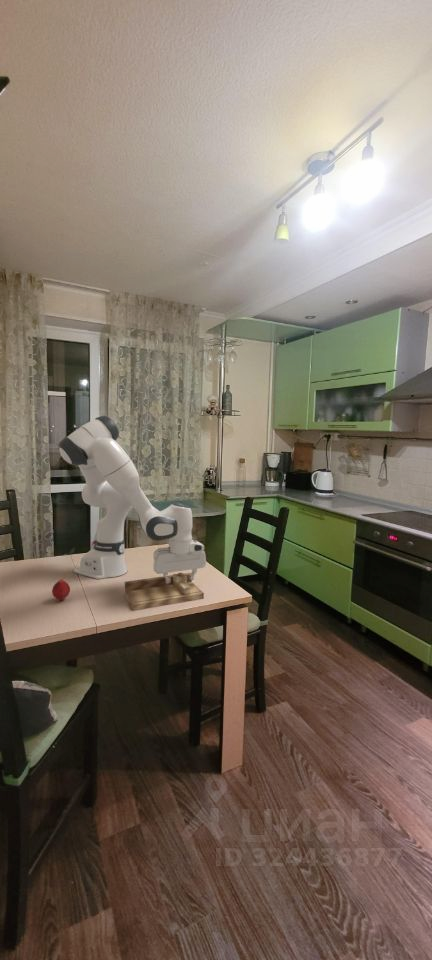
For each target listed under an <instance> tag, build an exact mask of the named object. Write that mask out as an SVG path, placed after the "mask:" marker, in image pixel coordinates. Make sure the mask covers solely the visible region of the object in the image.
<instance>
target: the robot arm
mask: <svg viewBox="0 0 432 960" xmlns="http://www.w3.org/2000/svg"><path fill="white" fill-rule="evenodd" d="M119 435H120V430H119V428H118V426H117V424H116V423H115V422H114V420H113V419H112V418H110V417H109V416H108V415H107V416H106V415H100V416H97V417H96V418H94V419H93V420H91V421H88V422H87V423H84V424H83V425H81V426H79V428H77V429H76V430H73V431H72V432H71V433H70V434H68V436H65V437H64V438H62V439H61V441H59V443H58V450H59V454H60V456H61V458H62V459H63V460H64V461H65V462H67V464H69V465H71V466H78V467H79V469H80V471H81V474H82V475H83V478H84V480H85V485H84V486H83V488H82V490H81V498H82V500H83V501H82V502H84V504H87V505H88V506H92V507H95V508H103V509H106V514H105V516H103V517H101V518H100V519H99V520H98V521H97V523H96V540H94V541H91V545H92V546H93V547H92V548H91V549H90V550H89V551H88V552H86V553H85V554H84V555H82V557H81V558H80V562H79V563H80V564H79V565H78V566H77V567H75V569H74V572H73V573H76V574H78V575H79V574H80V575H82V576H86V577H89V578H92V579H96V580H100V579H106V578H115V577H120V576H123V575H124V574H126V573H128V567H127V564H126V558H125V548H126V547H125V546H126V545H125V544H126V543H125V538H124V533H125V532H124V530H125V521H126V517H127V515H128V513H129V512H131V510H132V509H133V510H134V511H135V512H136V514H137V516H138V523H139V526H140V528H141V530H143V532H144V533H145V534H146V535H147V536H148V538H149V539H151V540H153V541H165V540H168V546H167V547H162V548H161V547H160V548H157V549H156V550H154V552H153V571H154V572H155V573H156V574H157V575H161V574H162V575H163V576H164V577H165V578H166V584H169V583H171V582H170V581H171V579H170V578H168V577H167V576H169V573H174V572H175V573H176V572H183V571H189V570H191V572H190V573H191V574H190V575H189V580H192V581H194V579H195V575H196V574H197V572H198V569H204V568H205V567H206V564H207V556H206V552H205V551H204V550H205V545H204V544H203V543H201V542H200V541H198V540H193V536H192V531H193V512H192V509H191V507H190V506H189V505H187V504H184V503H180V502H179V503H177V502H176V503H175V502H173V503H171V504H170V505H169V506H168V507H166V508H164V509H163V510H160V509H159V508H157V507H155V506H154V505H152V502H150V501H149V499H148V497H147V495H145V492H144V491H143V490H142V488H141V486H140V485H141V484H140V475H139V473H138V470H137V467H136V466H135V463H134V462H133V461H132V459H131V458H130V456H129V455H128V454H127V452H126V451H125V450H124V449H123V447H122V446H121V445H120V444H119V443H118V442H117V439H118V438H119V437H120V436H119Z"/></svg>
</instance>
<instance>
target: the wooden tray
mask: <svg viewBox="0 0 432 960" xmlns="http://www.w3.org/2000/svg"><path fill="white" fill-rule="evenodd" d="M183 573H184V572H183ZM191 573H192V572H186V573H184V574H185V575H186V576H187V584H188V585H189V586H190V587H191V594H187V595H184V594H183V593H182V592H181V591H180V590H179V589H176V588H175V587H174V586H173V574H172V575H166V576H167V577H168V578H170V579H171V581H170V582H171V583H169V584H166V578H165V577H164V575H163V576H157V577H150V578H142V579H137V580H135V579H134V580H129V581H124V596H125V599H126V600H127V601H128V603H129V605H130V606H131V609H132V610H133V611H139V610H145V609H150V608H155V607H161V606H166V605H171V604H172V605H173V604H178V603H183V602H190V601H191V602H192V601H196V600H201V599H202V600H203V599H204V597H205V593H204V591H203V590H201V589H200V588H199V587H198V586H197V585H196V584H195V583H194V582H193V580H189V575H190V574H191Z"/></svg>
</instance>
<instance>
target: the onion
mask: <svg viewBox="0 0 432 960" xmlns="http://www.w3.org/2000/svg"><path fill="white" fill-rule="evenodd" d="M70 592H71V587H70V585H69V583H67V582H66V581H65V580H64V578H60V579H59V580H58V581H57V582H55V584H54V585H53V587H52V588H51V593H52V596H53V598H55V599H56V600H59V601H63V600H65V599H66V598H67V597H68V596H69V594H70Z"/></svg>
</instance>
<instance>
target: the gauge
mask: <svg viewBox="0 0 432 960" xmlns="http://www.w3.org/2000/svg"><path fill="white" fill-rule="evenodd" d="M172 575H173V586H174V587H175V588H176V589H179V590H180V591H181V592H182V593H183V594H184V595H187V594H191V587H190V586H189V585H188V584H187V576H186V575H185V574H184V572H178V573H173V574H172Z"/></svg>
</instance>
